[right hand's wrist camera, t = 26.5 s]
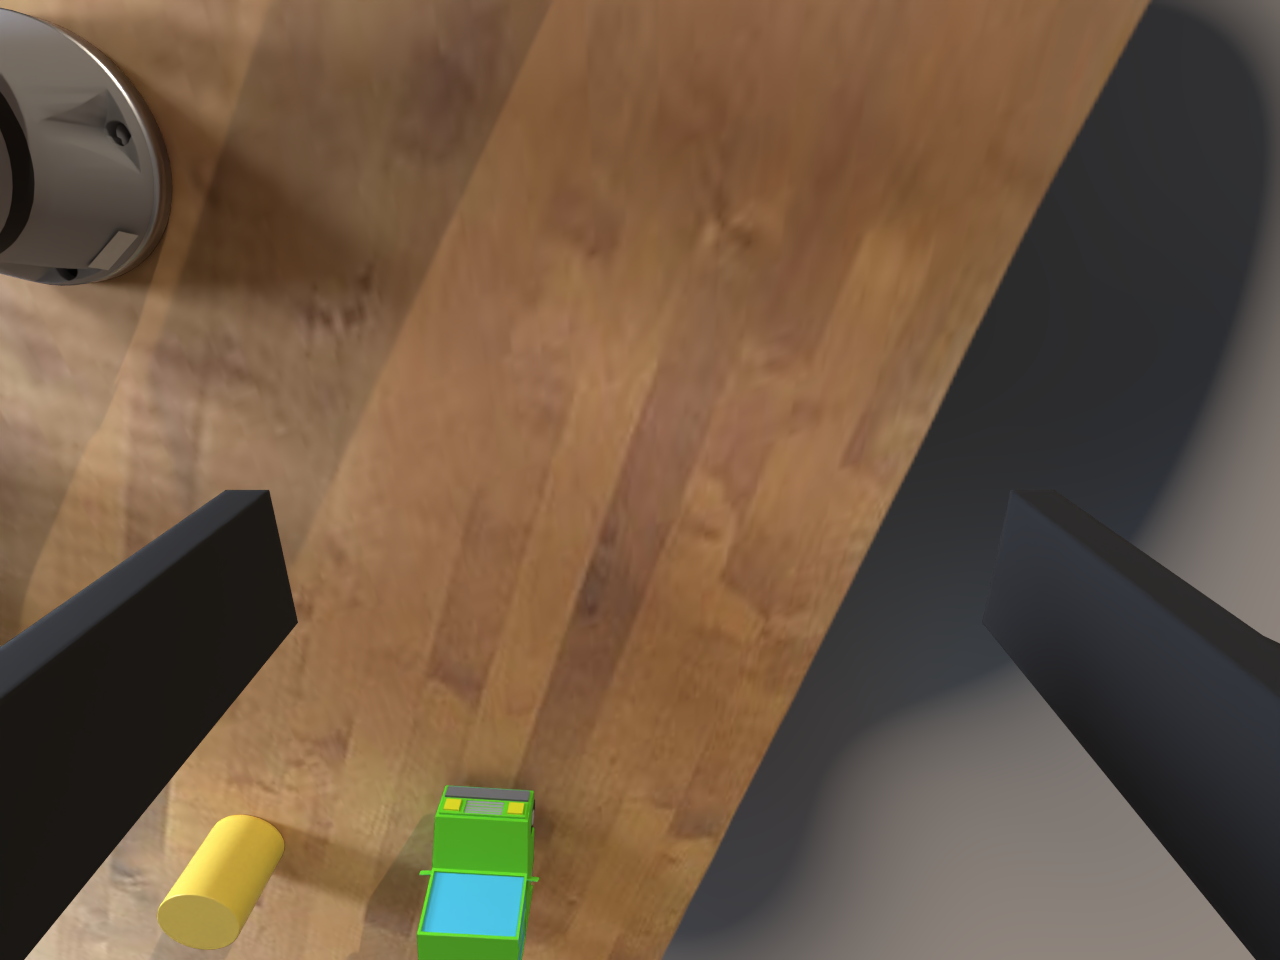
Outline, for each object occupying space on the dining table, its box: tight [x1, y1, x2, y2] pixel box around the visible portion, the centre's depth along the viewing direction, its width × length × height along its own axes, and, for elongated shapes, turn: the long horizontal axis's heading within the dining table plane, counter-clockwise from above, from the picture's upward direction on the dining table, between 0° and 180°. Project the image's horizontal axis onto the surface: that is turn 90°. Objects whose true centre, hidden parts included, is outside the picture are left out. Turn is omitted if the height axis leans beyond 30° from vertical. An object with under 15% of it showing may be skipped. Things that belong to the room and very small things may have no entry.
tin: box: [157, 815, 285, 950], centre depth 62 cm, size 7×7×8 cm
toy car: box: [417, 785, 540, 960], centre depth 60 cm, size 10×13×10 cm
